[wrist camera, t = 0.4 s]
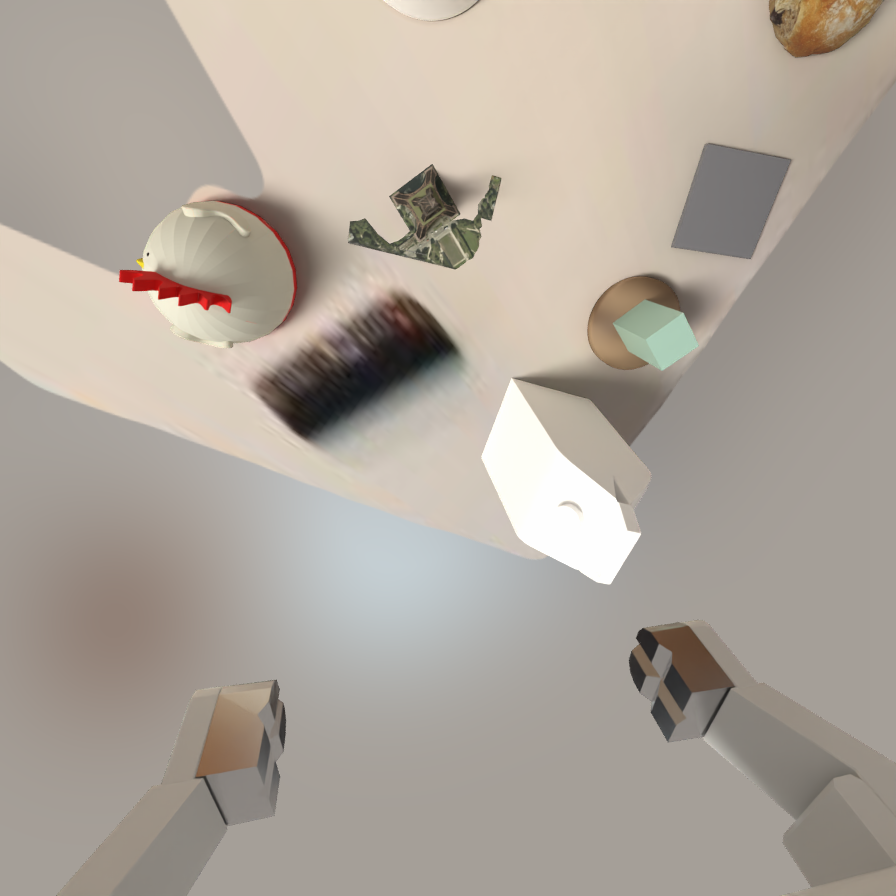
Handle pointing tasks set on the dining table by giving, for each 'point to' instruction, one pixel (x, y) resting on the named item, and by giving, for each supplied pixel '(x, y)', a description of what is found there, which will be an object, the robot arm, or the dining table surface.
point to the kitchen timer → (217, 274)
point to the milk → (566, 478)
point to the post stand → (615, 306)
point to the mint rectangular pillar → (656, 334)
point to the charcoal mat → (729, 201)
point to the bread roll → (818, 23)
